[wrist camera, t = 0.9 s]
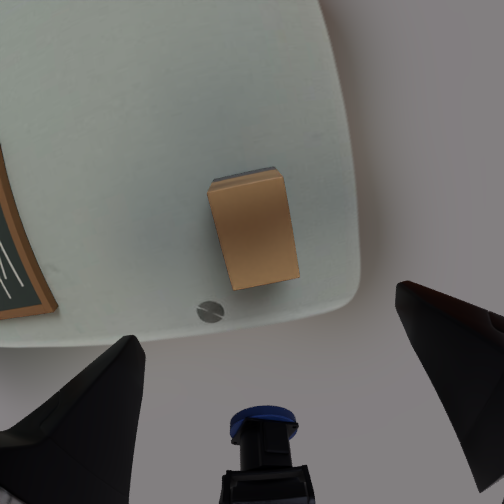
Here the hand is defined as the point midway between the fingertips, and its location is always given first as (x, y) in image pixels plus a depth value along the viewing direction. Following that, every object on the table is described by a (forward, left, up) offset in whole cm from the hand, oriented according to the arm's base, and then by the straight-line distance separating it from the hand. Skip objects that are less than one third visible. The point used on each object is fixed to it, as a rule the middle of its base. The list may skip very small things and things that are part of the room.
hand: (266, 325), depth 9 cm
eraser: (0, 0, -11) cm, 11 cm away
